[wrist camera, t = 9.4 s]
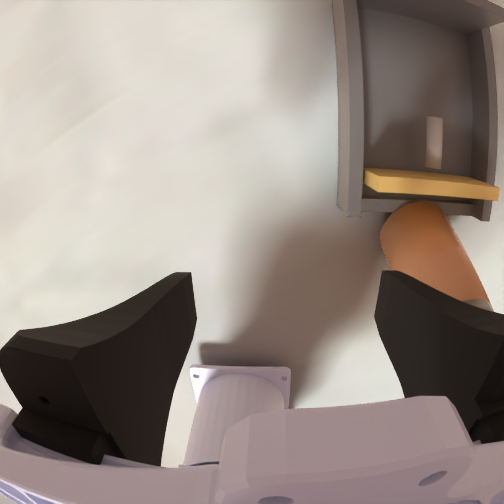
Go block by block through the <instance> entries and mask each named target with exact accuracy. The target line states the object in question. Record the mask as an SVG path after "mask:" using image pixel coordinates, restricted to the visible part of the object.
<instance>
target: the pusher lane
mask: <svg viewBox="0 0 504 504" xmlns="http://www.w3.org/2000/svg"><path fill="white" fill-rule="evenodd" d="M332 8H333V19H334V31H335V44H336V61H337V83H338V192H337V206H338V207H339V208H340V209H341V210H342V211H343V212H344V214H345V215H346V216H347V217H361V212H395V211H396V210H397V209H399V208H401V207H402V206H404V205H407V204H409V203H413V202H419V201H425V202H431V203H434V204H436V205H437V206H439V207H440V208H441V209H442V211H443V212H444V214H446V215H465V216H473V217H475V218H477V219H479V220H480V221H489V220H490V214H491V207H492V200H484V199H474V198H463V197H451V196H438V195H424V194H407V193H388V192H377V191H376V190H374V189H372V188H371V187H369V186H367V185H366V184H364V183H363V168H378V169H393V170H407V171H418V172H429V173H439V174H448V175H456V176H464V177H470V178H473V179H476V180H479V181H482V182H484V183H487V184H490V185H493V186H494V182H495V171H496V157H497V90H496V76H495V66H494V57H493V49H492V42H491V36H490V30H489V26H492V25H495V24H498V23H501V22H504V9H503V8H502V7H500V6H498V5H496V4H494V3H492V2H489V1H487V0H332ZM427 116H430V117H438V118H442V119H443V136H442V161H441V169H433V168H428V167H425V161H426V131H427Z"/></svg>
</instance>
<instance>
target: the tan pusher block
mask: <svg viewBox="0 0 504 504" xmlns="http://www.w3.org/2000/svg"><path fill="white" fill-rule="evenodd" d="M442 136H443V119H442V118H438V117H430V116H427V131H426V161H425V167H428V168H433V169H441V161H442ZM363 183H364V184H366V185H367V186H369V187H371V188H372V189H374V190H376V191H377V192H388V193H407V194H424V195H438V196H451V197H463V198H474V199H484V200H493V201H498V196H499V188H498V187H495V186H493V185H490V184H487V183H484V182H482V181H479V180H476V179H473V178H470V177H464V176H456V175H448V174H439V173H429V172H418V171H407V170H393V169H378V168H363Z"/></svg>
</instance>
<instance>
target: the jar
mask: <svg viewBox="0 0 504 504" xmlns="http://www.w3.org/2000/svg"><path fill="white" fill-rule="evenodd" d="M380 244H381V247H382V250H383V253H384V256H385V259H386V261H387V265H388V268H389V270H397V271H400V272H403V273H405V274H407V275H410V276H412V277H414V278H416V279H417V280H419V281H421V282H423V283H425V284H427V285H429V286H431V287H433V288H435V289H437V290H439V291H441V292H443V293H445V294H447V295H449V296H451V297H453V298H455V299H458V300H460V301H462V302H465V303H468V304H470V305H473V306H476V307H479V308H482V309H485V310H488V311H492V312H494V311H493V308H492V306H491V304H490V301H489V299H488V297H487V294H486V292H485V290H484V288H483V285H482V283H481V281H480V279H479V277H478V275H477V273H476V271H475V269H474V267H473V265H472V263H471V261H470V259H469V257H468V255H467V253H466V251H465V249H464V247H463V245H462V244H461V242H460V240H459V238H458V236H457V234H456V233H455V231H454V229H453V227H452V226H451V224H450V222H449V221H448V219H447V217H446V215H445V214H444V212H443V211H442V209H441V208H440V207H439V206H437V205H436V204H434V203H431V202H425V201H419V202H413V203H409V204H407V205H404V206H402V207H401V208H399V209H397V210H396V211H395V212H393V213H392V214H391V215H390V216H389V217H388V218H387V220H386V221H385V223H384V224H383V226H382V228H381V231H380Z"/></svg>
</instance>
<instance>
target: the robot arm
mask: <svg viewBox="0 0 504 504" xmlns="http://www.w3.org/2000/svg"><path fill="white" fill-rule="evenodd" d="M374 317H375V321H376V325H377V328H378V331H379V335H380V338H381V340H382V342H383V344H384V347H385V349H386V351H387V353H388V356H389V358H390V360H391V362H392V364H393V367H394V369H395V371H396V373H397V376H398V378H399V381H400V383H401V386H402V389H403V393H404V397H405V398H403V399H397V400H390V401H383V402H375V403H367V404H358V405H348V406H336V407H321V408H300V409H288V408H289V395H290V382H291V369H290V368H289V367H248V366H214V365H191V367H190V370H189V371H190V376H191V381H192V385H193V390H194V395H195V399H196V403H197V408H196V412H195V416H194V420H193V424H192V429H191V433H190V437H189V441H188V445H187V450H186V454H185V458H184V463H183V465H179V467H178V468H166V467H161V458H162V451H163V444H164V438H165V432H166V426H167V421H168V416H169V411H170V406H171V402H172V397H173V393H174V389H175V386H176V383H177V380H178V377H179V375H180V372H181V369H182V367H183V364H184V361H185V359H186V356H187V353H188V351H189V348H190V345H191V342H192V340H193V335H194V331H195V326H196V321H197V315H196V308H195V300H194V292H193V284H192V276H191V272H175V273H173V274H171V275H169V276H167V277H165V278H164V279H162V280H160V281H159V282H157V283H155V284H154V285H152V286H150V287H149V288H147V289H146V290H144V291H142V292H140V293H139V294H137V295H135V296H133V297H131V298H130V299H128V300H126V301H124V302H122V303H120V304H118V305H116V306H114V307H112V308H109V309H107V310H105V311H102V312H100V313H97V314H94V315H91V316H88V317H85V318H82V319H79V320H76V321H72V322H68V323H64V324H59V325H55V326H49V327H43V328H34V329H26V330H19V331H18V332H17V333H16V334H15V335H14V336H13V337H12V338H11V339H10V340H9V341H8V342H7V343H6V344H5V345H4V346H3V347H2V349H1V350H0V369H1V372H2V374H3V376H4V378H5V380H6V382H7V383H8V385H9V387H10V388H11V390H12V392H13V393H14V395H15V397H16V398H17V400H18V401H19V403H20V404H21V406H22V407H23V408H22V410H21V411H20V412H19V414H17V413H16V412H15V411H14V410H12V409H11V408H9V407H7V406H5V405H3V404H0V494H2V495H3V496H5V497H6V498H8V499H10V500H11V501H13V502H15V503H16V504H504V314H500V313H496V312H492V311H488V310H485V309H482V308H479V307H476V306H473V305H470V304H468V303H465V302H462V301H460V300H458V299H455V298H453V297H451V296H449V295H447V294H445V293H443V292H441V291H439V290H437V289H435V288H433V287H431V286H429V285H427V284H425V283H423V282H421V281H419V280H417V279H416V278H414V277H412V276H410V275H407V274H405V273H403V272H400V271H397V270H387V271H382V274H381V281H380V287H379V293H378V299H377V304H376V310H375V315H374ZM195 374H198V375H195ZM283 376H286V377H283Z"/></svg>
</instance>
